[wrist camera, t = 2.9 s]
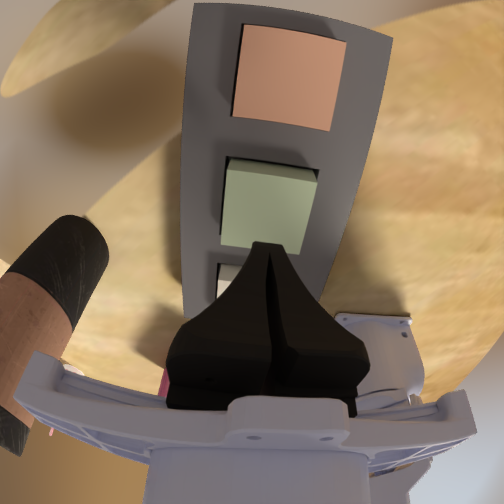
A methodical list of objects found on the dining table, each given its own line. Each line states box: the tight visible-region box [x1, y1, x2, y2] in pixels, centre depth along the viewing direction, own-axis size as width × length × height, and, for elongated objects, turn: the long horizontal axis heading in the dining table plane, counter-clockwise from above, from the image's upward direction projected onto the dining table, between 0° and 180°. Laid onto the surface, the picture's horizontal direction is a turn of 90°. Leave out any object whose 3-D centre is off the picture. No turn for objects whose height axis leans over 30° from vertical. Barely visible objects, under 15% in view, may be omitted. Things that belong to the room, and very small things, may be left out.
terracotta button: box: [233, 25, 347, 131], centre depth 13 cm, size 5×5×2 cm
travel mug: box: [0, 215, 109, 457], centre depth 17 cm, size 8×8×20 cm
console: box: [180, 3, 393, 319], centre depth 19 cm, size 11×24×3 cm, turn 173°
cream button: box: [217, 263, 242, 298], centre depth 22 cm, size 5×5×2 cm
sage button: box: [221, 158, 318, 255], centre depth 18 cm, size 5×5×2 cm
